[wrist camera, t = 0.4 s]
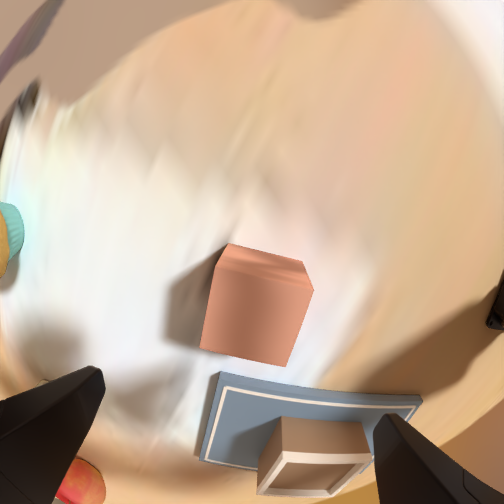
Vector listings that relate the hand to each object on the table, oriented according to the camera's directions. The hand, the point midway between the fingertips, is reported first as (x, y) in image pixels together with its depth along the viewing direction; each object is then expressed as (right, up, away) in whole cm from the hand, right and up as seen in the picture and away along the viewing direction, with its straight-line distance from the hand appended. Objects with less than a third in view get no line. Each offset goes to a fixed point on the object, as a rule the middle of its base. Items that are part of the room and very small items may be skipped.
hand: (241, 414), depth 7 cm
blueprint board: (+6, -14, +16) cm, 22 cm away
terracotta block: (+1, +2, +12) cm, 12 cm away
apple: (-27, -31, +22) cm, 47 cm away
